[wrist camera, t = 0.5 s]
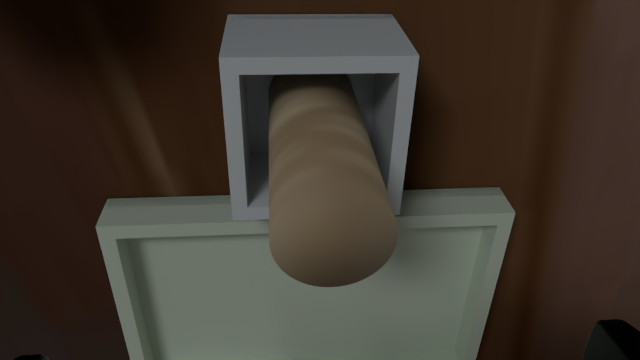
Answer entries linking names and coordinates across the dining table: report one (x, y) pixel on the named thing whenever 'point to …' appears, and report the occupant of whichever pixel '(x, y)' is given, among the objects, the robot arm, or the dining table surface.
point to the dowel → (325, 184)
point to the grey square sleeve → (313, 58)
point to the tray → (296, 297)
